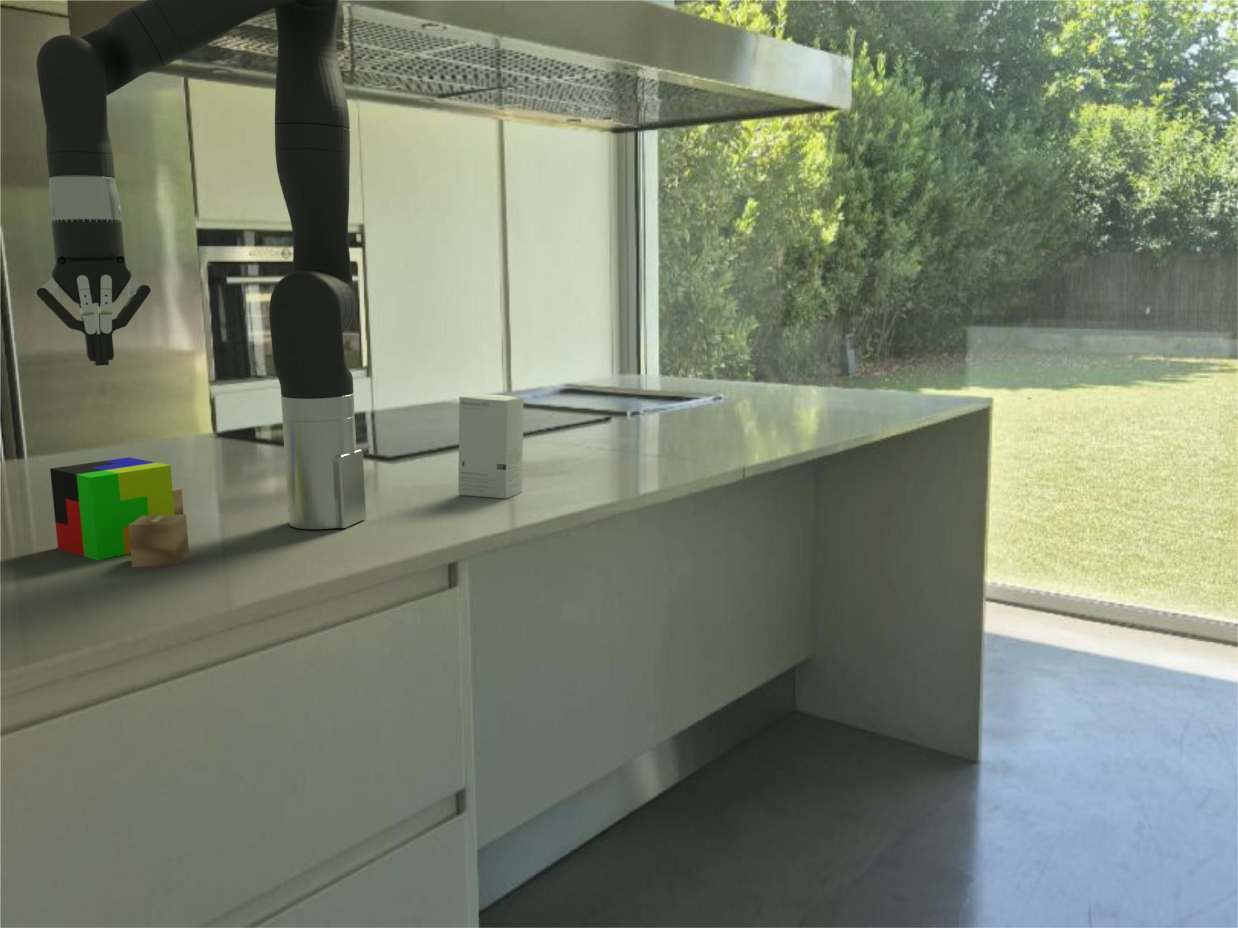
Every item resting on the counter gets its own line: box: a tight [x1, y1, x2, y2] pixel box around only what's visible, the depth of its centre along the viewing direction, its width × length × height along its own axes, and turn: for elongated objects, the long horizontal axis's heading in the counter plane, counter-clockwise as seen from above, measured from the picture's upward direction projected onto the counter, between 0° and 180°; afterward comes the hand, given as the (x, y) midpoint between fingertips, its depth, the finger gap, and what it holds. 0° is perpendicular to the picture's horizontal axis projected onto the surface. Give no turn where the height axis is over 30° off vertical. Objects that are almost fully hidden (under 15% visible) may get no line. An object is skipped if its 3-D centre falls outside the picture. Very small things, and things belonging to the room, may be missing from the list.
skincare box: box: [458, 393, 525, 499], centre depth 167 cm, size 8×6×15 cm
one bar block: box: [128, 514, 190, 568], centre depth 132 cm, size 5×5×5 cm
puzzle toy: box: [50, 456, 174, 561], centre depth 139 cm, size 10×10×10 cm
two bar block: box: [172, 487, 185, 515], centre depth 149 cm, size 5×5×5 cm
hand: (101, 364), depth 135 cm, fingers closed
